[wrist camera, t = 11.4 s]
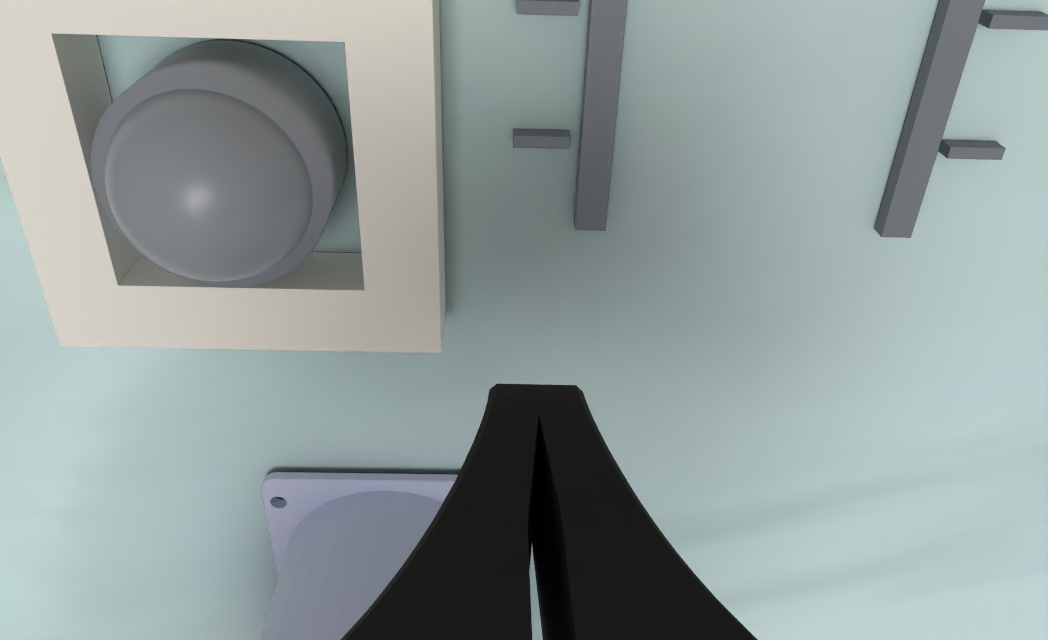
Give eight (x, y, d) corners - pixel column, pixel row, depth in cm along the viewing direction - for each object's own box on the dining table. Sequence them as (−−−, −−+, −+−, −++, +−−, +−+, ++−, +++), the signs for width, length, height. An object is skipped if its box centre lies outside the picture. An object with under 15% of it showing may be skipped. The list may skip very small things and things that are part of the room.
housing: (445, 313, 24) (440, 352, 22) (92, 306, 24) (61, 346, 22) (438, -66, 19) (430, -51, 17) (-19, -81, 18) (-72, -67, 17)
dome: (354, 239, 23) (322, 333, 19) (159, 234, 22) (86, 329, 19) (338, 42, 20) (297, 105, 16) (114, 35, 20) (18, 98, 16)
